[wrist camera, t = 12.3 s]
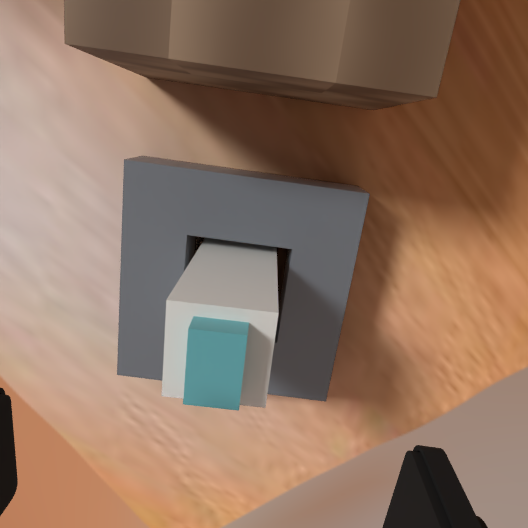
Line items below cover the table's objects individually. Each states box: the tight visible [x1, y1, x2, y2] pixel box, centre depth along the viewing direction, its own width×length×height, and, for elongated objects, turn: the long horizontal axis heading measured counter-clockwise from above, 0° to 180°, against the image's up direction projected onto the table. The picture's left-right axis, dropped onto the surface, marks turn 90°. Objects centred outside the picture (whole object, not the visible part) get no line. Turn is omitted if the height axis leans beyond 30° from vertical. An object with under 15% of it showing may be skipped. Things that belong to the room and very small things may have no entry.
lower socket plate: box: [117, 156, 370, 401], centre depth 24 cm, size 12×12×3 cm
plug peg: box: [162, 237, 279, 410], centre depth 20 cm, size 4×4×11 cm
